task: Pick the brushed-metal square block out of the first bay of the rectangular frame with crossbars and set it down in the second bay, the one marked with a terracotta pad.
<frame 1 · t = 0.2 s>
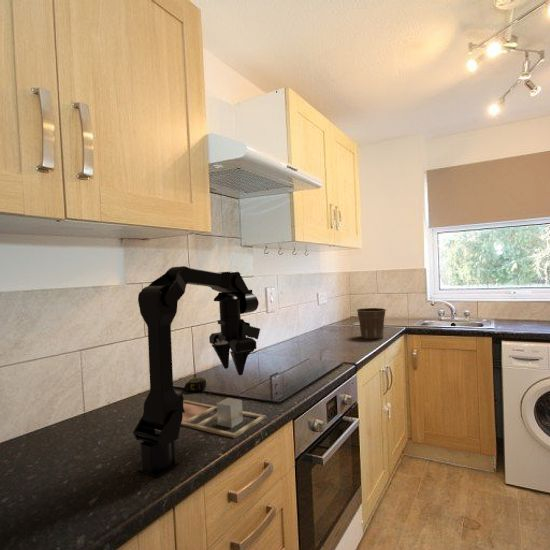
hand: (233, 371, 106), 14 cm above the worktop, fingers open, 9 cm apart
tape measure: (194, 390, 138), on the worktop
rectangular frame with crossbars: (206, 417, 111), on the worktop
metal block: (230, 423, 106), resting in rectangular frame with crossbars
plant pot: (372, 337, 217), on the worktop
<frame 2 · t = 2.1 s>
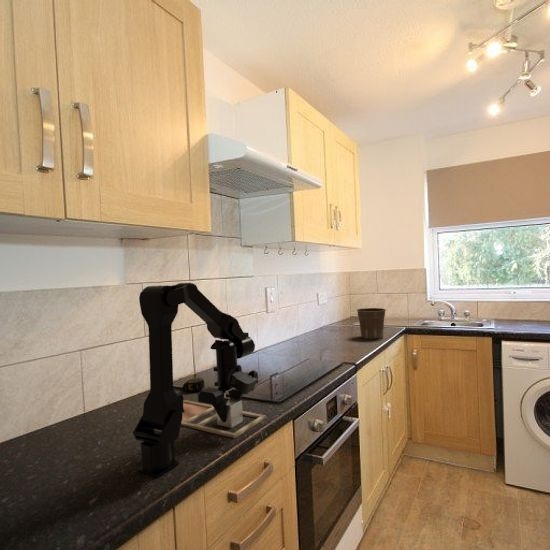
hand: (230, 418, 106), 1 cm above the worktop, fingers closed on metal block, 5 cm apart
metal block: (230, 422, 106), resting in rectangular frame with crossbars, touching gripper
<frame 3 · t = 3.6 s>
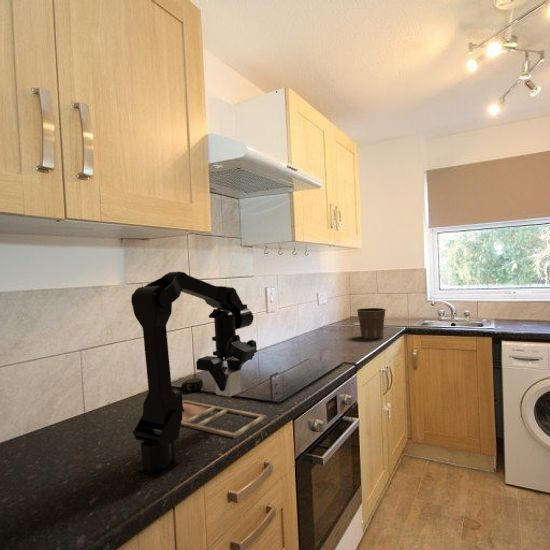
hand: (228, 388, 106), 10 cm above the worktop, fingers closed on metal block, 5 cm apart
metal block: (228, 392, 106), point 8 cm above the worktop, touching gripper
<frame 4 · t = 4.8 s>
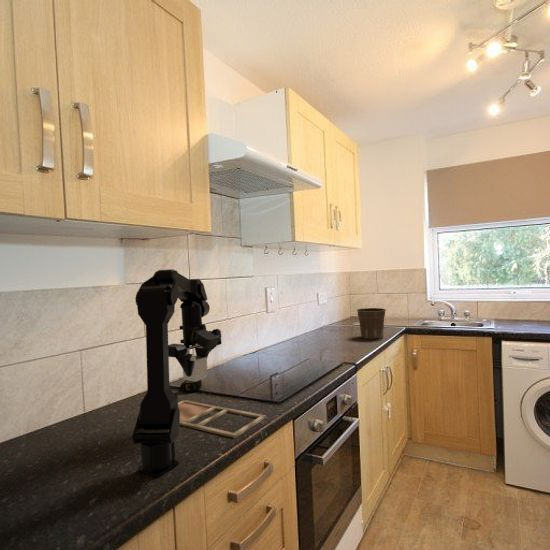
hand: (195, 374, 113), 12 cm above the worktop, fingers closed on metal block, 5 cm apart
metal block: (195, 378, 113), point 11 cm above the worktop, touching gripper
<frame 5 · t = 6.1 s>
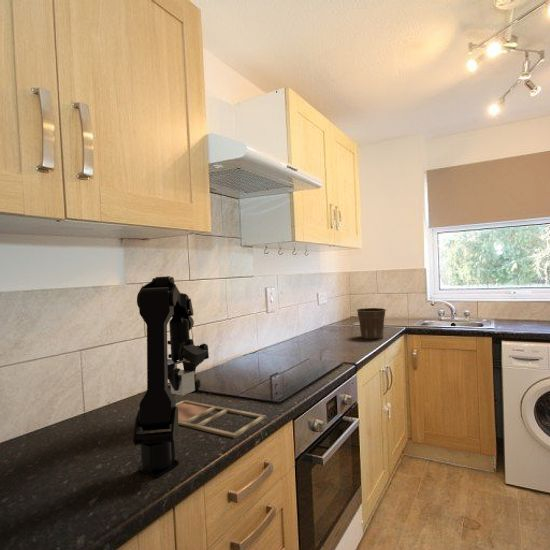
hand: (182, 388, 115), 8 cm above the worktop, fingers closed on metal block, 5 cm apart
metal block: (183, 392, 115), point 6 cm above the worktop, touching gripper
when the fingers open (2 cm above the worktop, at t = 7.4 s): metal block stays where it is, resting on rectangular frame with crossbars.
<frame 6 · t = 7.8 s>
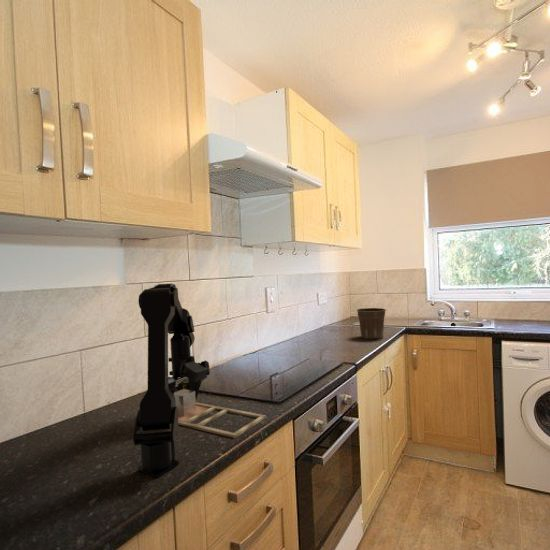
hand: (183, 404, 115), 2 cm above the worktop, fingers open, 9 cm apart
metal block: (184, 412, 115), resting on rectangular frame with crossbars
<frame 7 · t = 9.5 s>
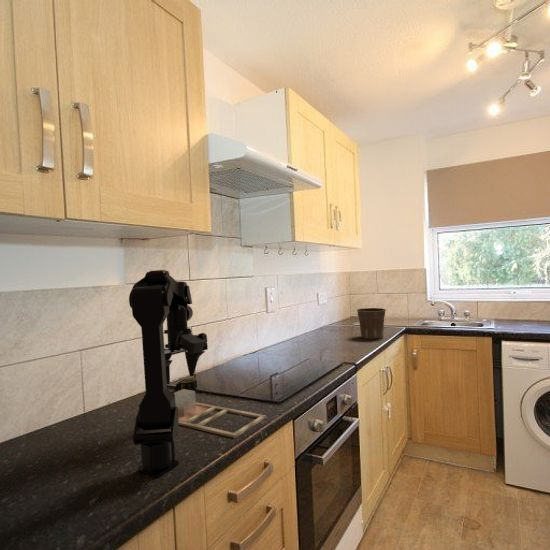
hand: (180, 380, 109), 12 cm above the worktop, fingers open, 9 cm apart
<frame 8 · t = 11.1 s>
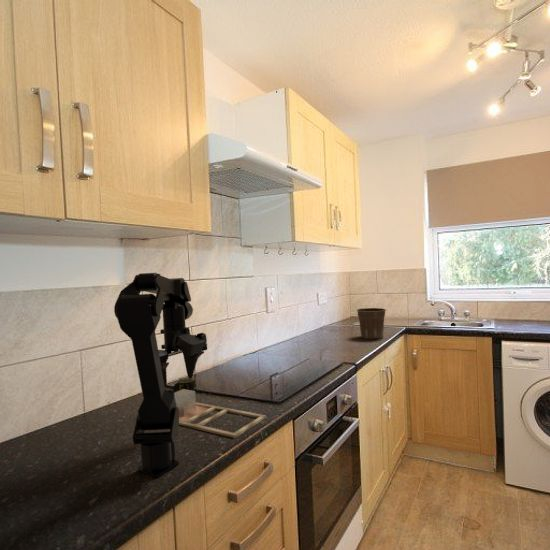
hand: (177, 382, 102), 13 cm above the worktop, fingers open, 9 cm apart
at the end: metal block inside the target area (0.0 cm from its centre), resting on rectangular frame with crossbars; metal block tilted 0°; the gripper is holding nothing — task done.
